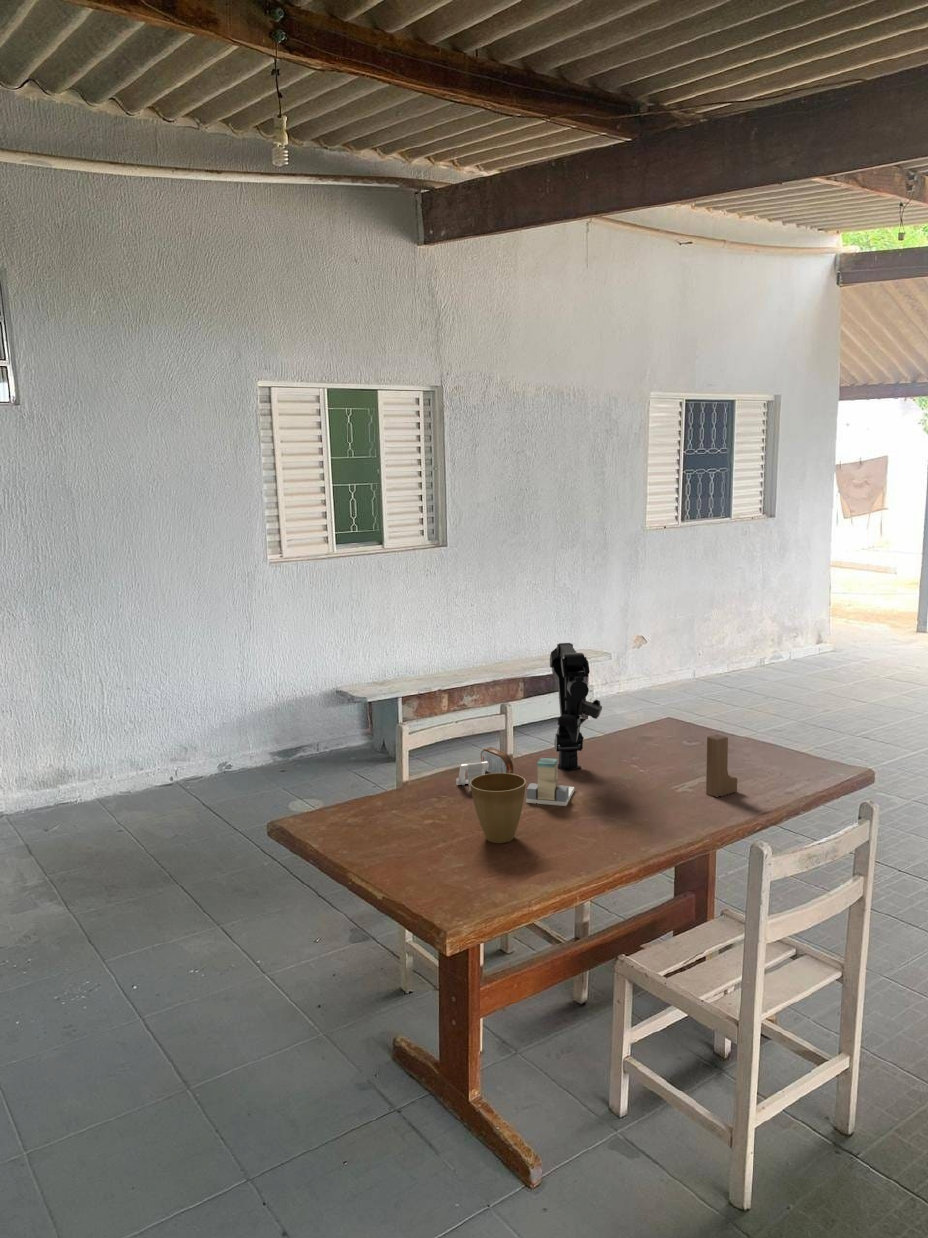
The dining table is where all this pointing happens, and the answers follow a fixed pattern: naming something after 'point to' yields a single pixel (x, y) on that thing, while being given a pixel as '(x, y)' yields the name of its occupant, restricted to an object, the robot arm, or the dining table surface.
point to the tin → (497, 761)
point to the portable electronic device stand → (471, 772)
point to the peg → (547, 778)
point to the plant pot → (498, 804)
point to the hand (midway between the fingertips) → (574, 742)
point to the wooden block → (718, 767)
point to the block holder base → (561, 799)
